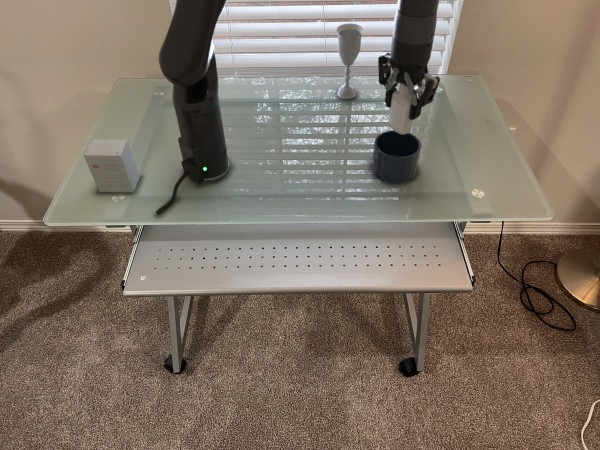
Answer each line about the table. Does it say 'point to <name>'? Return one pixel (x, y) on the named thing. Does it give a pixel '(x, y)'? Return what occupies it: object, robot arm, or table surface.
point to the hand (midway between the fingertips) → (401, 111)
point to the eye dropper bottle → (400, 111)
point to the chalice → (348, 53)
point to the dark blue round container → (395, 156)
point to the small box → (112, 165)
